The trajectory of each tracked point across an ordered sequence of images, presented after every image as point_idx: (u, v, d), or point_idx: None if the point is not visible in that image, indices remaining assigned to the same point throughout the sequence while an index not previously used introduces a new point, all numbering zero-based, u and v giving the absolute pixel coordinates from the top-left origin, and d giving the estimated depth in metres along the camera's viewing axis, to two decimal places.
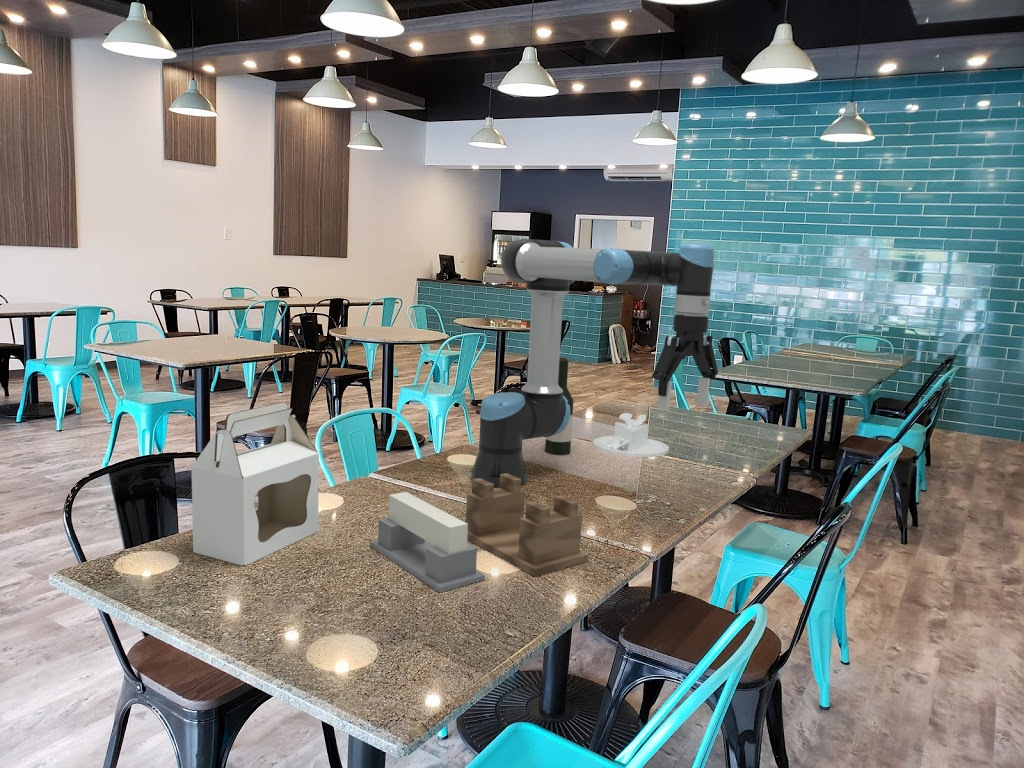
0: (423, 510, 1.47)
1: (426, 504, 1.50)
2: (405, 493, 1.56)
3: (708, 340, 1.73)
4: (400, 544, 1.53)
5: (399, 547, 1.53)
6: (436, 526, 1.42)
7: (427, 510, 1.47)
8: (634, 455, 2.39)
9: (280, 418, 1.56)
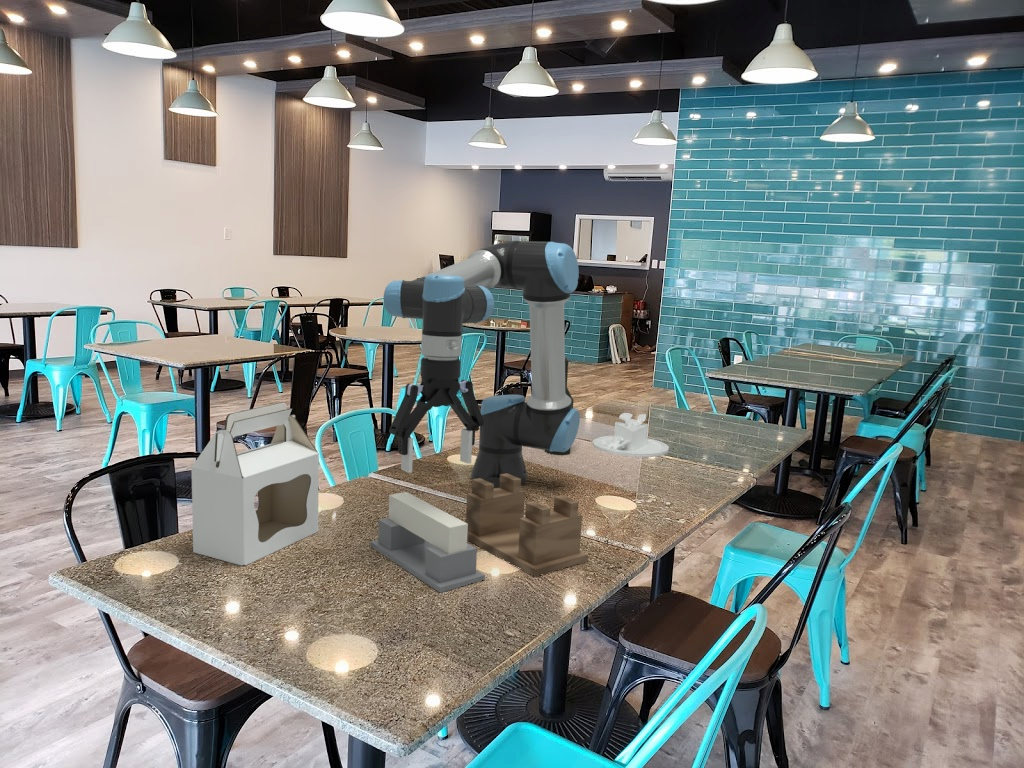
0: (423, 510, 1.47)
1: (426, 504, 1.50)
2: (405, 493, 1.56)
3: (467, 387, 1.47)
4: (400, 544, 1.53)
5: (399, 547, 1.53)
6: (436, 526, 1.42)
7: (427, 510, 1.47)
8: (634, 455, 2.39)
9: (280, 418, 1.56)
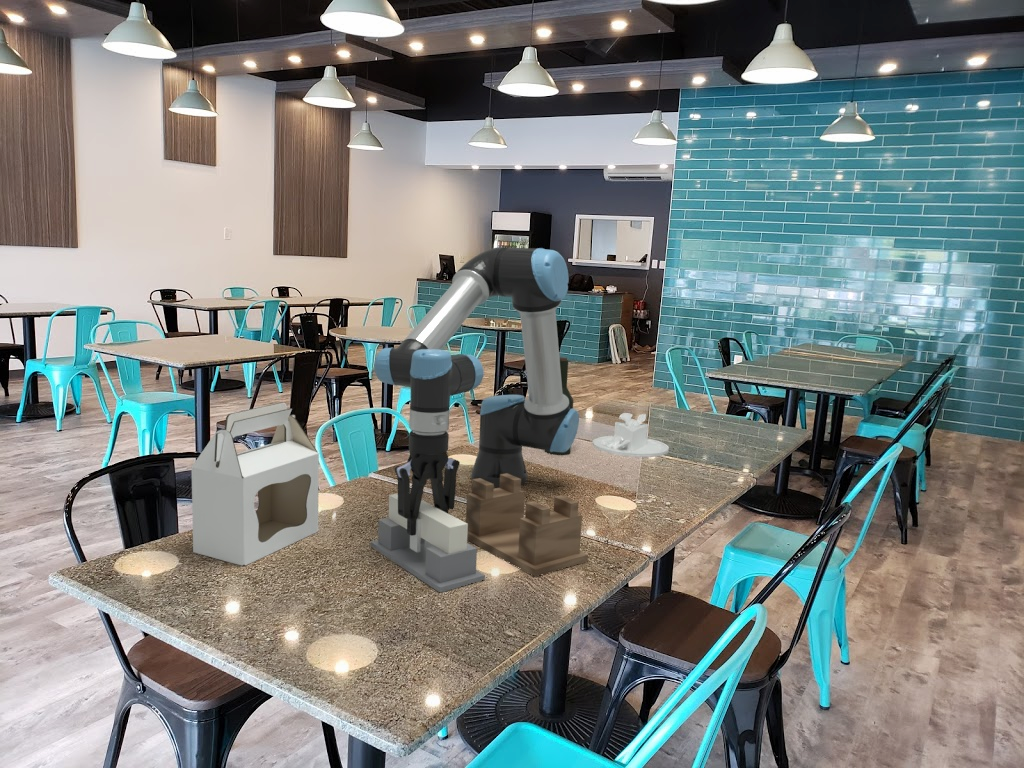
0: (423, 510, 1.47)
1: (426, 504, 1.50)
2: None
3: (453, 464, 1.49)
4: (400, 544, 1.53)
5: (399, 547, 1.53)
6: (436, 526, 1.42)
7: (427, 510, 1.47)
8: (634, 455, 2.39)
9: (280, 418, 1.56)
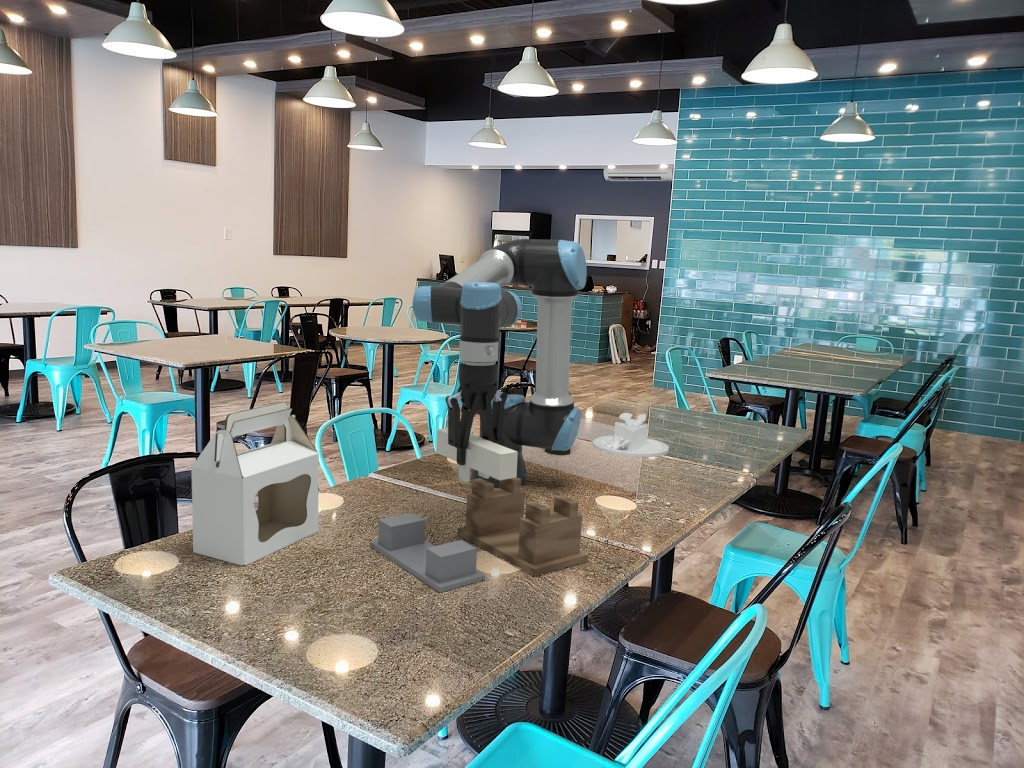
0: (472, 440, 1.50)
1: (474, 436, 1.53)
2: None
3: (501, 397, 1.52)
4: (400, 544, 1.53)
5: (399, 547, 1.53)
6: (486, 454, 1.44)
7: (476, 441, 1.50)
8: (634, 455, 2.39)
9: (280, 418, 1.56)
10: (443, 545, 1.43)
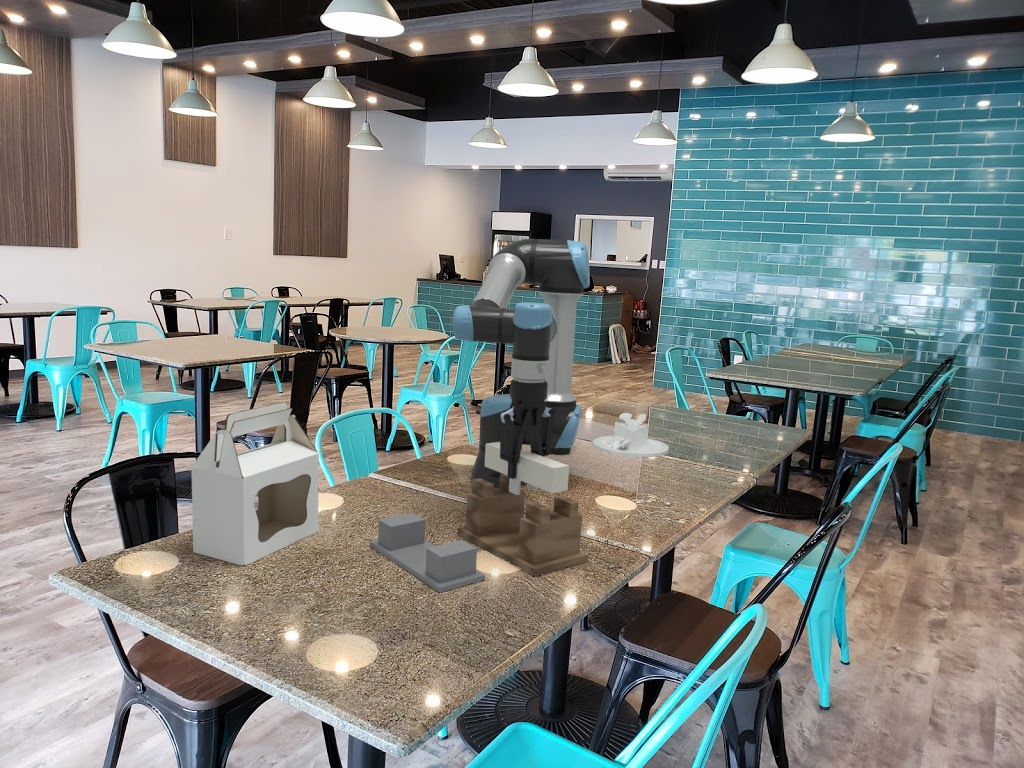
0: (523, 455, 1.55)
1: (523, 451, 1.59)
2: None
3: (550, 413, 1.57)
4: (400, 544, 1.53)
5: (399, 547, 1.53)
6: (538, 468, 1.50)
7: (527, 455, 1.55)
8: (635, 455, 2.39)
9: (280, 418, 1.56)
10: (443, 545, 1.43)
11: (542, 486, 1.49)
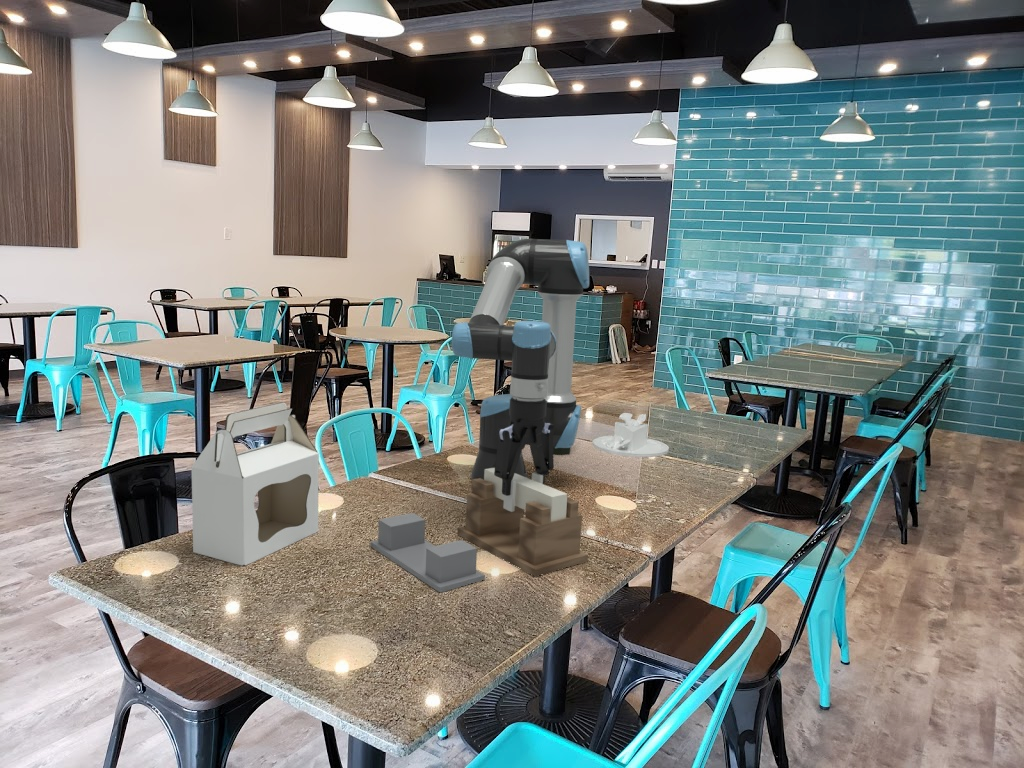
0: (522, 482, 1.56)
1: (522, 477, 1.60)
2: None
3: (550, 428, 1.58)
4: (400, 544, 1.53)
5: (399, 547, 1.53)
6: (537, 496, 1.51)
7: (525, 482, 1.56)
8: (635, 455, 2.39)
9: (280, 418, 1.56)
10: (443, 545, 1.43)
11: None
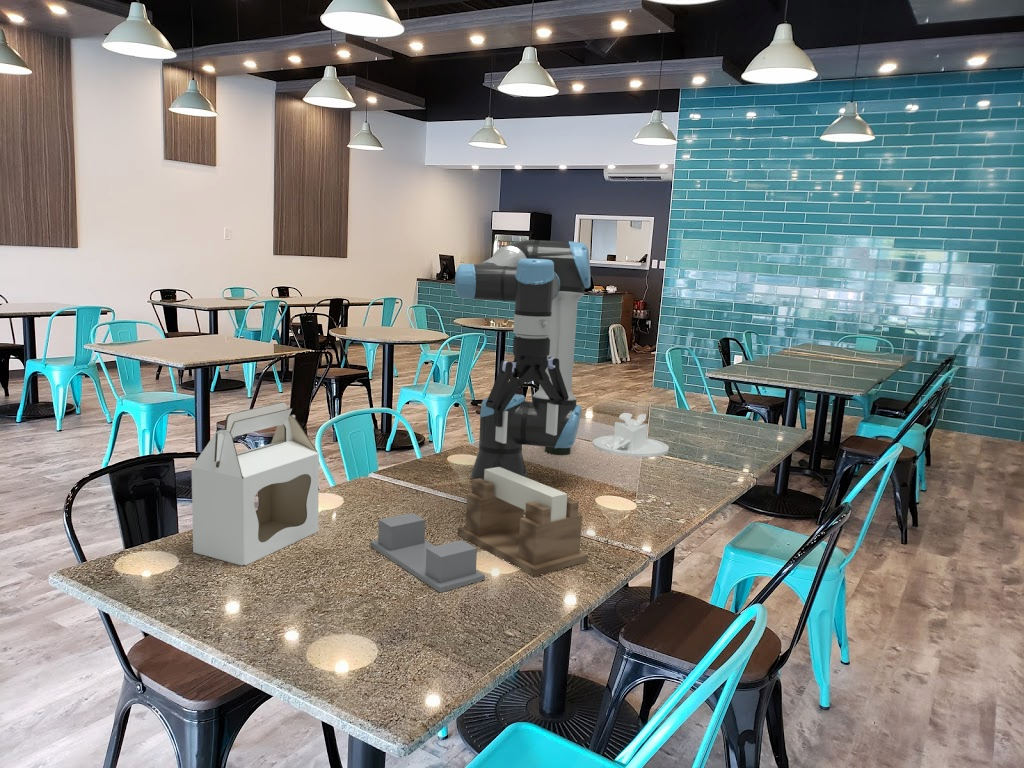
0: (522, 482, 1.56)
1: (522, 477, 1.60)
2: (499, 468, 1.66)
3: (554, 363, 1.58)
4: (400, 544, 1.53)
5: (399, 547, 1.53)
6: (537, 496, 1.51)
7: (525, 482, 1.56)
8: (635, 455, 2.39)
9: (280, 418, 1.56)
10: (443, 545, 1.43)
11: None
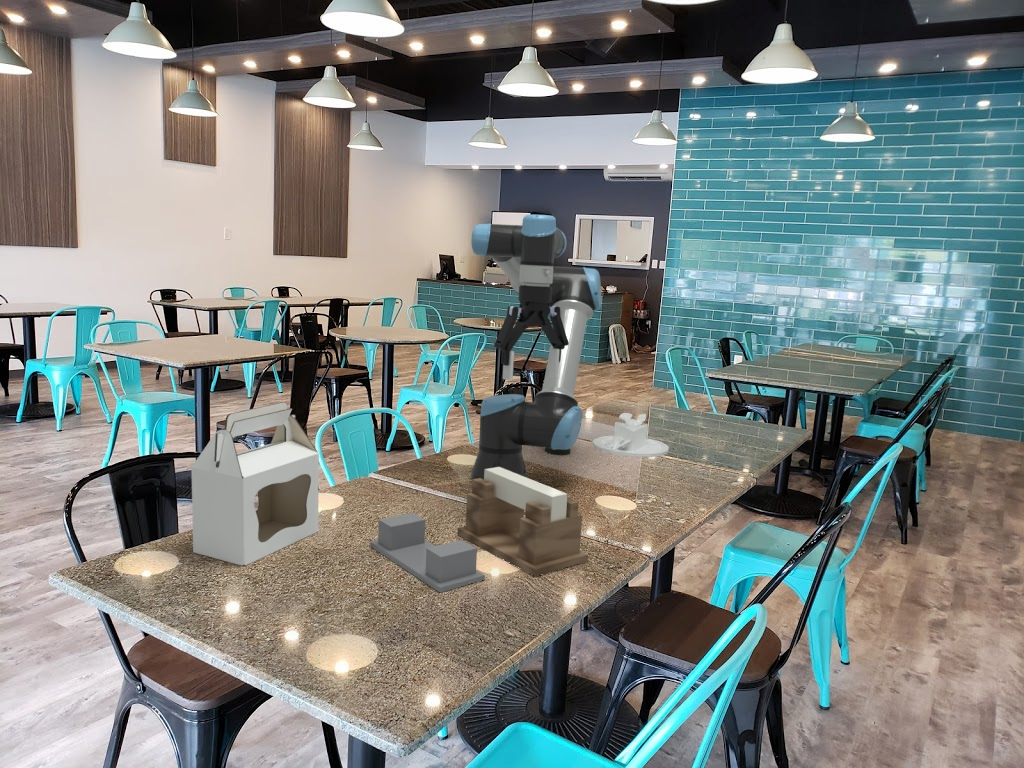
0: (522, 482, 1.56)
1: (522, 477, 1.60)
2: (499, 468, 1.66)
3: (555, 311, 1.75)
4: (400, 544, 1.53)
5: (399, 547, 1.53)
6: (537, 496, 1.51)
7: (525, 482, 1.56)
8: (635, 455, 2.39)
9: (280, 418, 1.56)
10: (443, 545, 1.43)
11: None
